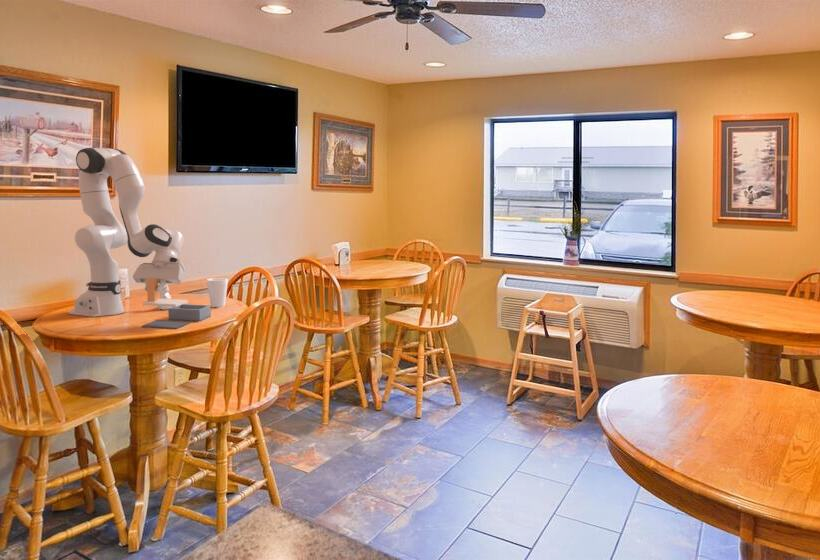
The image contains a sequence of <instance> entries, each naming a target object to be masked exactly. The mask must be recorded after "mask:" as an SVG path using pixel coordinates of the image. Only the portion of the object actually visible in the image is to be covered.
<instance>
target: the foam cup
mask: <svg viewBox="0 0 820 560" xmlns="http://www.w3.org/2000/svg"><path fill="white" fill-rule="evenodd" d="M206 285H207V291H208V297H209V302H210V303H209V304H210V306H211V308H214V307H220V308H224V307H225V306H226V300H227V292H228V285H229V279H228V278H226V277H225V278H224V277H211V278H207V279H206Z"/></svg>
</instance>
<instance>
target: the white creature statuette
mask: <svg viewBox="0 0 820 560" xmlns="http://www.w3.org/2000/svg"><path fill="white" fill-rule="evenodd" d="M159 292H160V295H159V298H160V299H172V297H171V295H170V293H169V292H170V287H169V286H168V284H166V285H165V286H164V287H162V288H161V290H160V291H158V293H159ZM157 308H158V309H159V310H160V309H162V310H161V311H166V310H165V309H168V308H171V307H168V306H157Z"/></svg>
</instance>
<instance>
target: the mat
mask: <svg viewBox="0 0 820 560" xmlns="http://www.w3.org/2000/svg"><path fill="white" fill-rule="evenodd" d="M189 324H191V321H179V320H169V319H168V320H166V319H165V320H164V319H163V320H162V319H156V320H153V321H150V322H147V323H145V324H143V325H141V328H147V327H150V328H151V329H164V328H166V329H167V330H178V329H180V328H182V327H185V326H187V325H189ZM150 328H149V329H150Z"/></svg>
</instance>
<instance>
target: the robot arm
mask: <svg viewBox="0 0 820 560" xmlns="http://www.w3.org/2000/svg"><path fill="white" fill-rule="evenodd" d="M75 162H76V166H77V168H78V169H79V170H80V171H79V172H78V187H79V188H78V189H79V195H80V196H79V197H80V201H81V204H82V205H81V206H82V211H83V212H84V214H85V215H87V216H89V218H90V219H91V220H92V221H93V225H92V224H91V225H86V226H84V227H81V228H79V229H78V230H76V232H75V234H74V242H75V245H76V246H77V248H79V249H80V250H82V252H83V253H84V254H85V257H86V258H87V261H88V264H89V269H90V270H89V271H90V282H88V283H86V284H85V287H87V289H86V291H85V292H83V293H82V294H81V295H80V296H78V297H77V298H76V299H75V300H74V308H72V309H70V310H69V311H68V314H69V315H76V316H81V317H82V316H84V317H92V318H95V317H103V316H113V315H119V314H123V313H125V312H126V310H125V307H124V304H123V300H122V296H121V295H122V294H121V292H122V285H121V283H122V282H121V280H120V272H119V271H120V269H119V267H120V266H119V263H118V261H116V259H114V258H113V257H112V255H111V253H110V250H112V249H113V250H114V249H118V248H121V247H123V246H126V244H127V247H128V250H129V251H130V253H132V254H133V255H134V256H135V257H140V258H146V257H149V256H150V255H151V254H152V253H153V252H155V254H154V256H153V259H152V261H151V262H143V263H141V264H139V265H138V267H136V270H135V271H134V273H133V275H132V278H133V280H134V281H135V283H137V284H139V283H140V284H141V283H142V284H144V285H145V287H144V290H145V292H147V279H150V278H158V286H156V288H155V290H156V291H158V292H159V291H160V290H161V288H162V287H164V286H165V285H168V284H170V285H173V284H175V285H176V284H177V285H178V284H179V285H180V284H181V283H182V281H183V279H184V276H185V271H186V267H185V265H184V263H183V262H182V261H181V259H180V258H178V257H179V256H180V255H181V251H182V249H183V246H184V243H185V242H184V238H185V237H184V235H183V234H182V233H181V232H180V231H178V230H177V229H172V228H171V229H166V228H163V227H162V226H159V225H158V224H152V223H151V224H148V225H147V226H145V227H143V228H142V225H141V222H140V219H139V213H138V211H139V206H140V204H141V202H142V200H143V198H144V197H145V193H146V186H145V183H144V179H143V177H142V175H141V173H140V171H139V169H138V167H137V165H136V163H135V162H134V160H133V159H132V158H131V156H129V155H128V154H127V153H126V152H125V151H123V150H120V149H117V148H108V147H86V148H82V149H80V150H78V151H77V153H76V157H75ZM109 177H111V180H112V183H113V185H114V187H115V190H116V195H117V199H118V205H119V212H120V215H121V219H122V222H123V224H122V223H121V222H120V221H119V219H118V218H117V216H116V214H115V212H114V210H113V207H112V202H111V198H110V191H109V187H108V178H109Z"/></svg>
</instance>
